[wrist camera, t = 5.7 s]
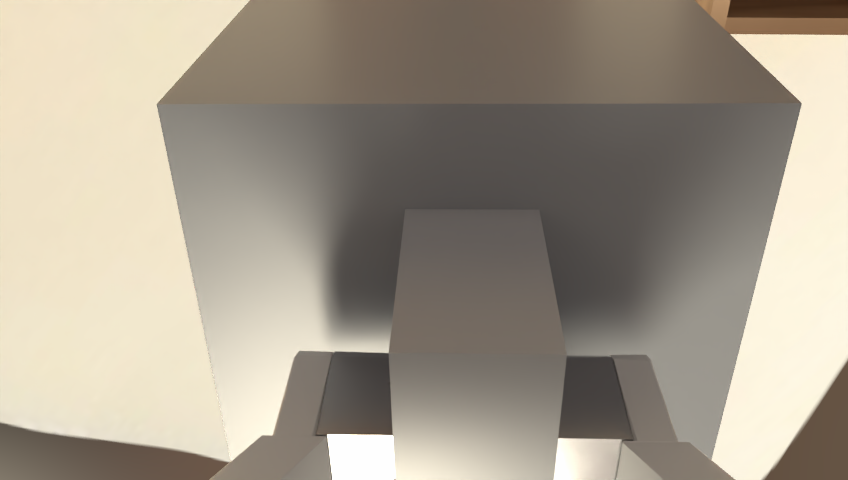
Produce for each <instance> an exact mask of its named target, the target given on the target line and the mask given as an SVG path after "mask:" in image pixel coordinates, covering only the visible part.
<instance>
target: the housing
mask: <svg viewBox="0 0 848 480" xmlns="http://www.w3.org/2000/svg"><path fill="white" fill-rule="evenodd" d="M801 104H802V103H801V102H800V101H799V100H798V99H797V98H796V97H795V96H794V95H792V94H791V93H790V92H789V91H788V90H787V89H786V88H785V87H784V86H783V85H782V84H781V83H780V82H779V81H778V80H777V79H776V78H775V77H774V76H773V75H772V74H771V73H770V72H769V71H768V70H766V69H765V68H764V67H763V66H762V65H761V64H760V63H759V62H758V61H757V60H756V59H755V58H754V57H753V56H752V55H751V54H750V53H749V52H748V51H747V50H746V49H745V48H744V47H743V46H741V45H740V44H739V43H738V42H737V41H736V40H735V39H734V38H733V37H732V36H731V35H730V34H729V33H728V32H727V31H726V30H725V29H724V28H723V27H722V26H721V25H720V24H719V23H718V22H716V21H715V20H714V19H713V18H712V17H711V16H710V15H709V14H708V13H707V12H706V11H705V10H704V9H703V8H702V7H701V6H700V5H699V4H698V3H697V2H696V1H695V0H250V1H249V2H248V3H247V4H246V5H245V7H244V8H243V9H242V10H241V11H240V12H239V13H238V14H237V16H236V17H235V18H234V19H233V20H232V21H231V22H230V23H229V24H228V26H227V27H226V28H225V29H224V30H223V31H222V32H221V33H220V34H219V36H218V37H217V38H216V39H215V40H214V41H213V42H212V43H211V44H210V46H209V47H208V48H207V49H206V50H205V51H204V52H203V53H202V54H201V56H200V57H199V58H198V59H197V60H196V61H195V62H194V63H193V65H192V66H191V67H190V68H189V69H188V70H187V71H186V72H185V73H184V75H183V76H182V77H181V78H180V79H179V80H178V81H177V82H176V83H175V85H174V86H173V87H172V88H171V89H170V90H169V91H168V92H167V93H166V95H165V96H164V97H163V98H162V99H161V100H160V101H159V102H158V104H157V108H158V112H159V117H160V122H161V127H162V132H163V137H164V141H165V146H166V151H167V156H168V161H169V165H170V170H171V175H172V180H173V185H174V190H175V194H176V199H177V204H178V209H179V214H180V219H181V223H182V228H183V233H184V238H185V243H186V247H187V252H188V257H189V262H190V267H191V272H192V276H193V281H194V286H195V291H196V296H197V300H198V305H199V310H200V315H201V320H202V325H203V329H204V334H205V339H206V344H207V349H208V354H209V358H210V363H211V368H212V373H213V378H214V382H215V387H216V392H217V397H218V402H219V407H220V411H221V416H222V421H223V426H224V431H225V436H226V440H227V445H228V450H229V455H230V460H231V461H232V460H233V459H235V458H236V457H237V456H238V455H239V454H241V453H242V452H243V451H244V450H245V449H246V448H248V447H249V446H250V445H251V444H252V443H254V442H255V441H256V440H257V439H258V438H260V437H261V436H262V435H273V432H274V429H275V425H276V421H277V418H278V414H279V411H280V407H281V403H282V400H283V396H284V392H285V389H286V385H287V381H288V378H289V374H290V370H291V367H292V363H293V360H294V357H295V356H296V354H297V353H298V352H299V351H325V352H335V351H342V352H371V353H389V370H390V390H391V410H392V430H393V449H394V469H395V480H554V473H555V463H556V454H557V444H558V435H559V425H560V416H561V406H562V397H563V387H564V378H565V368H566V358H567V355H579V356H610V355H647V356H648V357H649V358H650V359H651V361H652V364H653V368H654V371H655V374H656V377H657V380H658V383H659V386H660V389H661V392H662V395H663V398H664V401H665V404H666V407H667V410H668V413H669V416H670V419H671V422H672V425H673V428H674V431H675V434H676V437H677V440H678V442H690V443H691V444H692V445H693V446H695V447H696V448H697V449H698V450H700V451H701V452H702V453H703V454H704V455H706V456H707V457H708V458H709V459H712V455H713V451H714V447H715V443H716V439H717V435H718V431H719V427H720V423H721V419H722V415H723V411H724V407H725V403H726V400H727V396H728V392H729V388H730V384H731V380H732V376H733V372H734V368H735V364H736V360H737V356H738V352H739V348H740V344H741V340H742V337H743V333H744V329H745V325H746V321H747V317H748V313H749V309H750V305H751V301H752V297H753V293H754V289H755V285H756V281H757V277H758V273H759V270H760V266H761V262H762V258H763V254H764V250H765V246H766V242H767V238H768V234H769V230H770V226H771V222H772V218H773V214H774V210H775V207H776V203H777V199H778V195H779V191H780V187H781V183H782V179H783V175H784V171H785V167H786V163H787V159H788V155H789V151H790V147H791V144H792V140H793V136H794V132H795V128H796V124H797V120H798V116H799V112H800V108H801Z"/></svg>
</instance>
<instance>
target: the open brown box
mask: <svg viewBox="0 0 848 480" xmlns="http://www.w3.org/2000/svg"><path fill="white" fill-rule="evenodd" d="M695 1H696V2H697V3H698V4H699V5H700V6H701V7H702V8H703V9H704V10H705V11H706V12H707V13H708V14H709V15H710V16H711V17H712V18H713V19H714V20H715V21H716V22H718V23H719V24H720V25H721V26H722V27H723V28H724V29H725V30H726V31H727V32H728V33H729V34H815V35H848V0H695Z"/></svg>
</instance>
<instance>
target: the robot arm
mask: <svg viewBox="0 0 848 480" xmlns="http://www.w3.org/2000/svg"><path fill="white" fill-rule="evenodd" d="M210 480H395V469H394V449H393V430H392V410H391V390H390V370H389V353H371V352H342V351H335V352H325V351H299V352H298V353H297V354H296V356H295V357H294V360H293V363H292V367H291V370H290V374H289V378H288V381H287V385H286V389H285V392H284V396H283V400H282V403H281V407H280V411H279V414H278V418H277V421H276V425H275V429H274V432H273V435H262V436H261V437H260V438H258V439H257V440H256V441H255V442H254V443H252V444H251V445H250V446H249V447H248V448H246V449H245V450H244V451H243V452H242V453H241V454H239V455H238V456H237V457H236V458H235V459H233V460H232V461H231V462H230V463H229V464H228V465H226V466H225V467H224V468H223V469H222V470H220V471H219V472H218V473H217V474H216V475H215V476H213V477H212V478H211V479H210ZM554 480H735V479H734V478H733V477H731V476H730V475H729V474H728V473H726V472H725V471H724V470H723V469H722V468H720V467H719V466H718V465H717V464H715V463H714V462H713V461H712V460H711V459H709V458H708V457H707V456H706V455H704V454H703V453H702V452H701V451H700V450H698V449H697V448H696V447H695V446H693V445H692V444H691V443H690V442H678V440H677V437H676V434H675V431H674V428H673V425H672V422H671V419H670V416H669V413H668V410H667V407H666V404H665V401H664V398H663V395H662V392H661V389H660V386H659V383H658V380H657V377H656V374H655V371H654V368H653V364H652V361H651V359H650V358H649V357H648V356H647V355H610V356H579V355H567V358H566V368H565V378H564V387H563V397H562V406H561V416H560V425H559V435H558V444H557V454H556V463H555V473H554Z"/></svg>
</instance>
